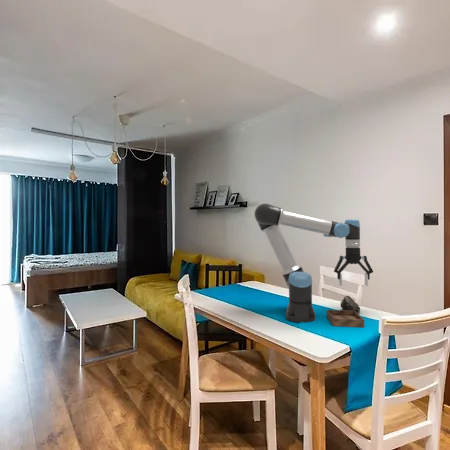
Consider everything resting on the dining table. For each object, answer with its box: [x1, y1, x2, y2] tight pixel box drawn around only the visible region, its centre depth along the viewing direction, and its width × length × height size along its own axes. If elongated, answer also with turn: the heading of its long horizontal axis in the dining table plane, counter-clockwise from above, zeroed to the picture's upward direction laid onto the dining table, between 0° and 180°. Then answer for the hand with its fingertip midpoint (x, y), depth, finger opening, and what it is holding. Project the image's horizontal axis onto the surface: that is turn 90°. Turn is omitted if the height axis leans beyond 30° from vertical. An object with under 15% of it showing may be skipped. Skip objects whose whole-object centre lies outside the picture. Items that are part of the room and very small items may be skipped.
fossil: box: [340, 295, 361, 313], centre depth 165 cm, size 11×9×10 cm
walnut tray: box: [326, 309, 365, 328], centre depth 148 cm, size 14×15×4 cm
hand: (353, 285), depth 164 cm, fingers open, 13 cm apart
